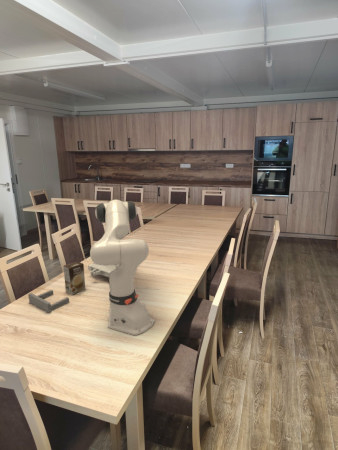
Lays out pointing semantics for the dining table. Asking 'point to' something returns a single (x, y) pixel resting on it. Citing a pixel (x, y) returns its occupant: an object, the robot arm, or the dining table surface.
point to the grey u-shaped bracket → (45, 305)
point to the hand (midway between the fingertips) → (92, 273)
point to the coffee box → (74, 278)
